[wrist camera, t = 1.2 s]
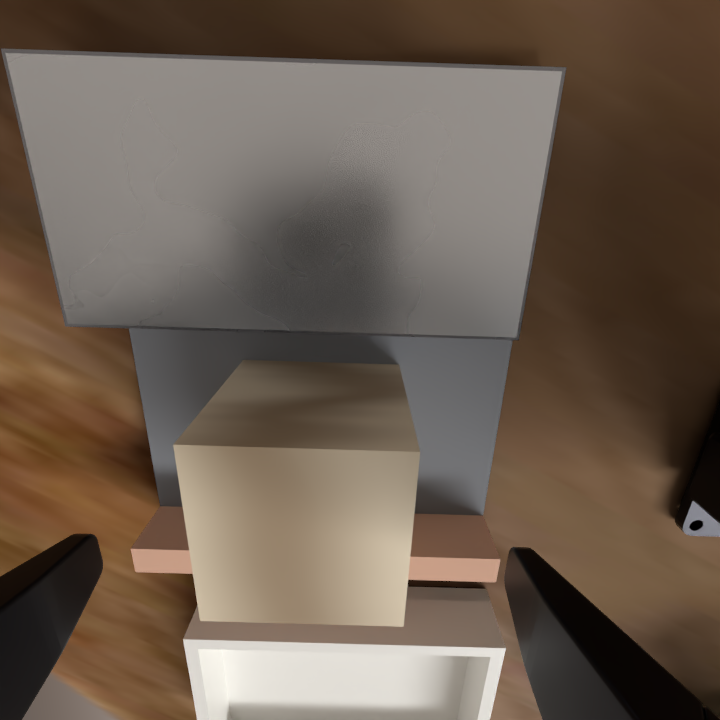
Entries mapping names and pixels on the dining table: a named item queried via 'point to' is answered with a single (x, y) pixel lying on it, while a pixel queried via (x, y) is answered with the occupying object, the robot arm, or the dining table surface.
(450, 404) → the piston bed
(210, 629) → the tray
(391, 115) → the grey square block
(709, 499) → the robot arm
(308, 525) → the block
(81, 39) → the dining table surface
